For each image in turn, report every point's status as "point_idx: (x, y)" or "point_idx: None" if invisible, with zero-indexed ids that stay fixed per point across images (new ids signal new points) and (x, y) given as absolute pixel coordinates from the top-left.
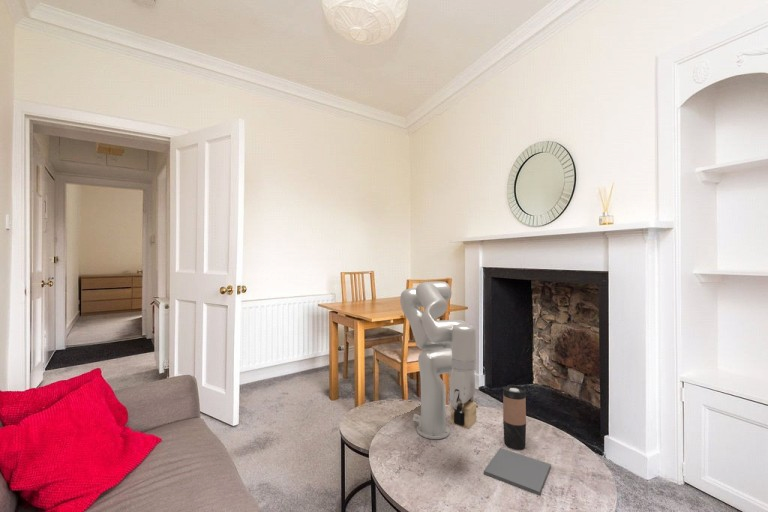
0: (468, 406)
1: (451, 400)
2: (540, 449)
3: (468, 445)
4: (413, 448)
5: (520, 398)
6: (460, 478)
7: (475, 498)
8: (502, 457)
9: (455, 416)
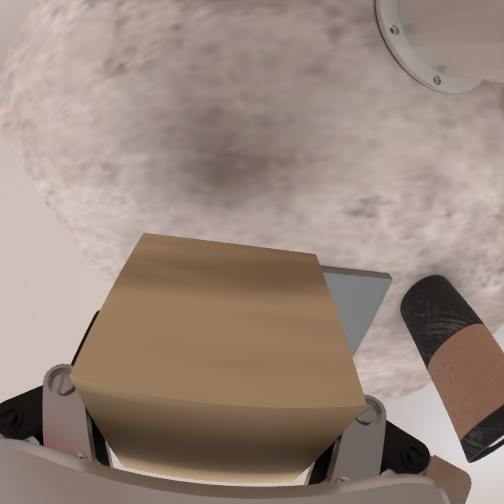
0: (177, 470)
1: (7, 447)
2: (410, 346)
3: (394, 173)
4: None
5: (461, 445)
6: (166, 196)
7: (110, 258)
8: (338, 295)
9: (82, 340)
